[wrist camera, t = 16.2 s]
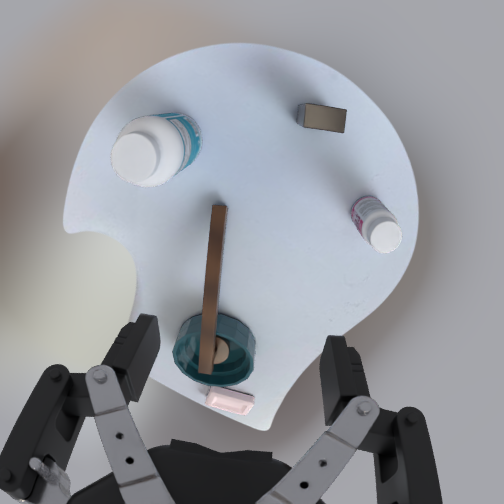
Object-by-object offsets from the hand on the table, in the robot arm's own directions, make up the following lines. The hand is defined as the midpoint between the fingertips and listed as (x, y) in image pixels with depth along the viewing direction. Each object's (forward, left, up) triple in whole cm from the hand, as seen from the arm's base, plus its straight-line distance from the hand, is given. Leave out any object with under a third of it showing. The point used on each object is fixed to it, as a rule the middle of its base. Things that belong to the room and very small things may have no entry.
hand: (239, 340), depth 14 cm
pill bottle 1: (-10, -8, -28) cm, 31 cm away
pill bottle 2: (+8, +12, -28) cm, 32 cm away
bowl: (+22, -17, -28) cm, 40 cm away
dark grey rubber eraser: (-6, +9, -28) cm, 30 cm away
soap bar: (+38, -22, -28) cm, 52 cm away
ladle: (+14, -13, -31) cm, 36 cm away
